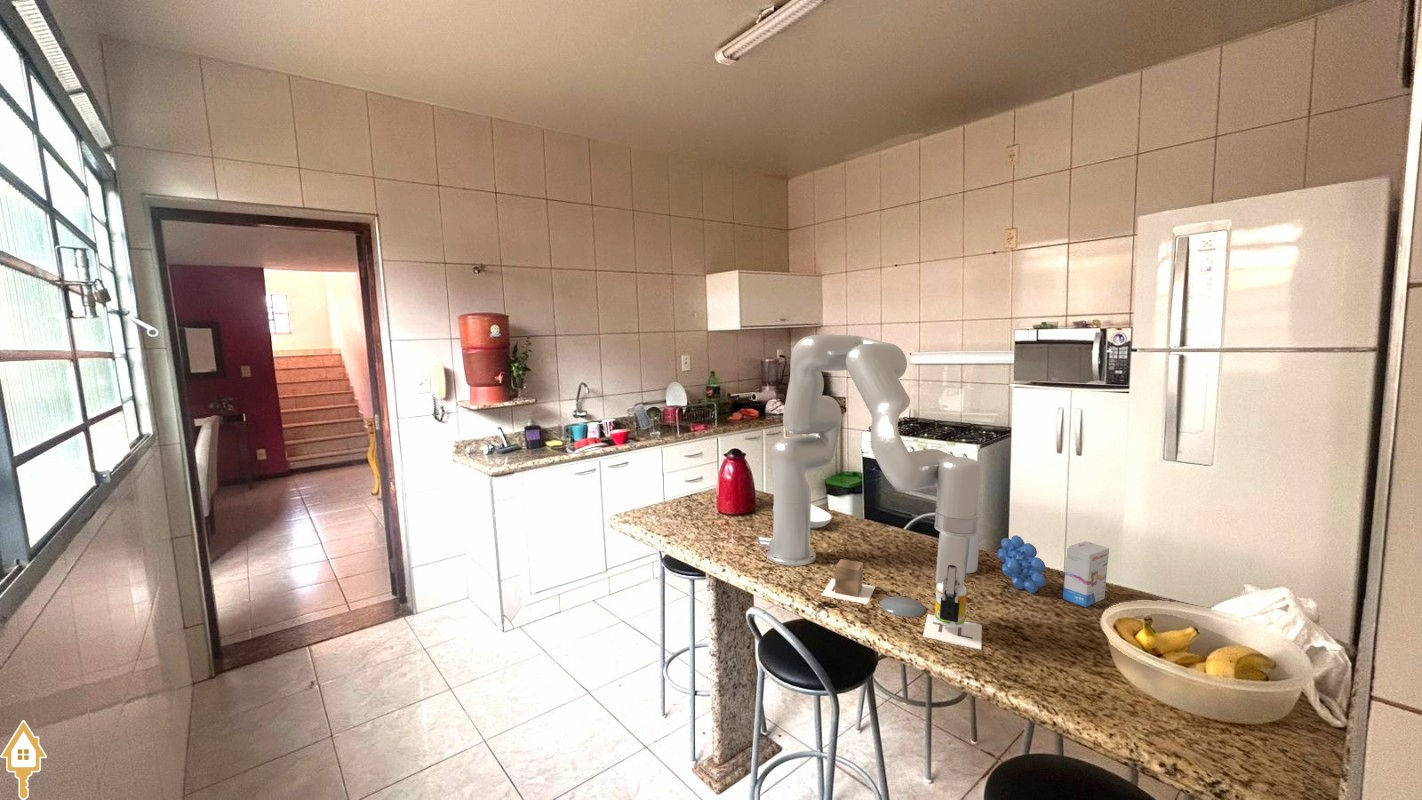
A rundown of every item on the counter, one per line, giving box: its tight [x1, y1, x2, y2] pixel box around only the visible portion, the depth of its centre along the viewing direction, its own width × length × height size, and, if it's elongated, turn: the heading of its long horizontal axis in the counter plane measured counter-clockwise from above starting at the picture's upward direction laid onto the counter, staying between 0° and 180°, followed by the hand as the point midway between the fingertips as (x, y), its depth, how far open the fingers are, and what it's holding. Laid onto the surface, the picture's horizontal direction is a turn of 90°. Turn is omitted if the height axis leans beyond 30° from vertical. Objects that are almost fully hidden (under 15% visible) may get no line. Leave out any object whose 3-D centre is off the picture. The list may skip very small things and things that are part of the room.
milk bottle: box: [966, 519, 980, 574], centre depth 139 cm, size 8×8×20 cm
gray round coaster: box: [880, 595, 927, 618], centre depth 119 cm, size 9×9×1 cm
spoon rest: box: [772, 503, 833, 529], centre depth 178 cm, size 24×12×7 cm, turn 30°
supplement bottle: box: [934, 580, 968, 627], centre depth 109 cm, size 5×5×10 cm
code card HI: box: [820, 578, 876, 605], centre depth 126 cm, size 10×10×1 cm
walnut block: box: [834, 558, 864, 597], centre depth 126 cm, size 5×5×6 cm
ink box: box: [1062, 540, 1110, 608], centre depth 122 cm, size 9×5×12 cm, turn 122°
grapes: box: [996, 535, 1047, 594], centre depth 127 cm, size 12×7×12 cm, turn 25°
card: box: [922, 613, 983, 651], centre depth 109 cm, size 10×10×1 cm
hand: (949, 612), depth 109 cm, fingers closed on supplement bottle, 5 cm apart
